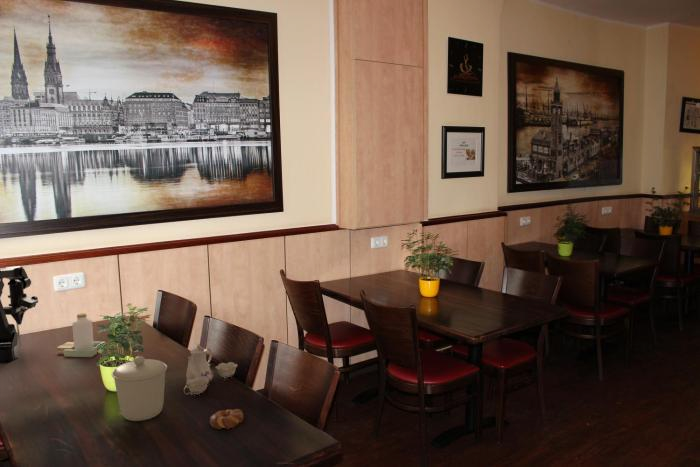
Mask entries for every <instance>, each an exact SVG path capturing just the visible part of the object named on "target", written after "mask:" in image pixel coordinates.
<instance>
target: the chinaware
mask: <svg viewBox="0 0 700 467" xmlns="http://www.w3.org/2000/svg"><path fill="white" fill-rule="evenodd" d="M207 351H208V352H209V356H208V359H207ZM189 353H190V355H188V356H187V358H188V364H187V369H186V373H185V374H186V376H185V380H186V383H185V384H186V385H185V386H184V388H183V393H184V394H185V395H189V394H190V396H192V395H193V394H200V393H204V392H205V390H207V387H208V385H207V384H208V383H209V382H210V381H211V382H212V380H213V378H214V377H215V376H214V375H215V373H214V371H213V370H212V368H211V363H210V362H211V360H212V357H213V353H212V350H211V349H210V348H207V347H206V348H205V347H203V346H201V345H200V343H197V345H196V346H195V347H194V348H193V349H191V350H190V352H189ZM207 360H208V361H207ZM237 367H238V364H237V363H235V362H232V361H229V362H227V363H225V362H220V363H218V365H216V366H215V369H216V370H217V373H218V375H219V376H221V377H222V378H223V377H224V378H227V377H231V378H232V377H233V376H234V374H235V372H236V368H237ZM186 388H187V389H188V390H189V392H188V393H186V392H185V390H186Z"/></svg>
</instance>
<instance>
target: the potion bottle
mask: <svg viewBox="0 0 700 467" xmlns="http://www.w3.org/2000/svg"><path fill="white" fill-rule="evenodd" d="M87 315H88V314H87V313H78V314H76V319H74V320H73V321H72V322H71V324H72V336H73V342H74V350H91V349H92V348H94V347H93V346H90V345H91V344H92V345H94V342H95V341H94V330H93V329H94V328H93V320H92V319H91V318H90V317H89V318H88V316H87Z"/></svg>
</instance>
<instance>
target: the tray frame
mask: <svg viewBox="0 0 700 467" xmlns="http://www.w3.org/2000/svg"><path fill="white" fill-rule="evenodd" d="M105 342H106V341H94V345H97V346H98V345H100V344H102V343H105ZM97 346H96V347H94V348H92V349H91V350H64V354H63V357H65V358H69V357H71V358H72V357H73V358H74V357H75V358H78V357H79V358H93V357H94V356H95V355H97V354H98V353H97Z"/></svg>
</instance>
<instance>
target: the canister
mask: <svg viewBox="0 0 700 467" xmlns="http://www.w3.org/2000/svg"><path fill="white" fill-rule="evenodd" d="M167 369H168V365H167V363H165V362H163V361H161V360H158V359H151V358H147V359H146V358H145V357H144V356H142V355H138V356H136V357H135V358H134V359H133V360H131V361H128V362H125V363H122V364H120V365H119V366H117V367H115V369H113V370H112V372H111V377H112V378H113V380H114V384H115V392H116V396H117V400H118V404H119V408H120V413H121V415H122V417H123V418H124V419H126V420H128V421H132V422H141V421H147V420H151V419H152V418H154V417H157V416H158V415H159V414H160V413H161V412H162V410H163V407H164V398H165V386H166V385H165V383H166V382H165V381H166V371H167Z"/></svg>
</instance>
